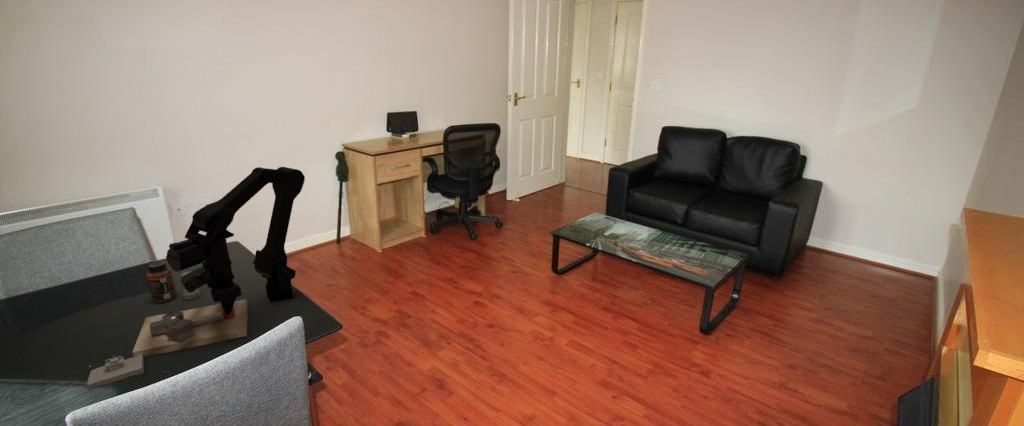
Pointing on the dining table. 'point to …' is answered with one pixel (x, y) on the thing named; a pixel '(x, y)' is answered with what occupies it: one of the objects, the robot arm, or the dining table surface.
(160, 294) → the supplement bottle
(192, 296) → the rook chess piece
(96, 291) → the dining table surface
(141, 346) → the base
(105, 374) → the beige platform
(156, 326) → the lever
